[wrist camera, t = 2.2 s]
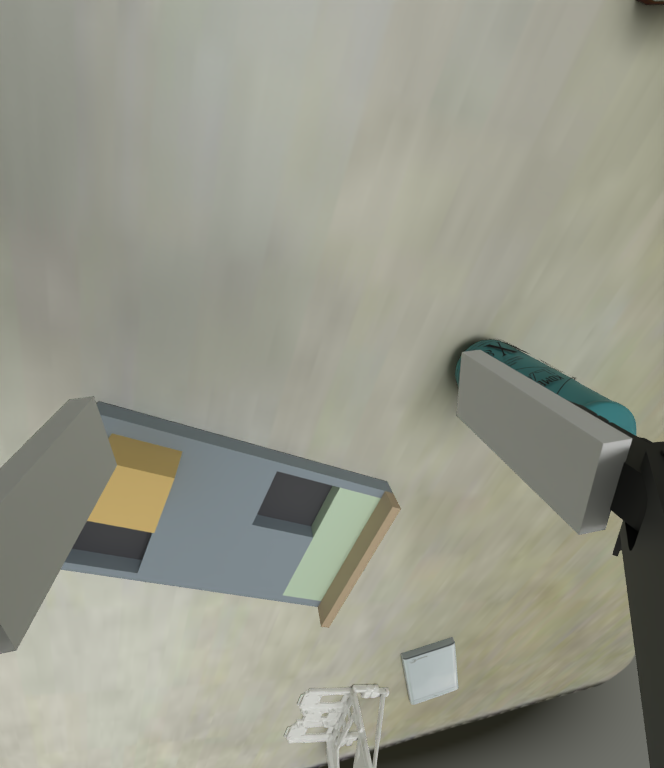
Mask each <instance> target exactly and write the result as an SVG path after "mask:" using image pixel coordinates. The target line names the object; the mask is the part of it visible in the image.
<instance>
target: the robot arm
mask: <svg viewBox="0 0 664 768" xmlns="http://www.w3.org/2000/svg"><path fill="white" fill-rule="evenodd" d="M457 416H458V417H459V418H460V419H461V420H462V421H463V422H464V423H465V424H466V425H467V426H468V427H469V428H470V429H471V430H472V431H473V432H474V433H475V434H476V435H477V436H478V437H479V438H480V439H481V440H482V441H483V442H484V443H485V444H486V445H487V446H488V447H489V448H490V449H491V450H492V451H493V452H495V453H496V454H497V455H498V456H499V457H500V458H501V459H502V460H503V461H504V462H505V463H506V464H507V465H508V466H509V467H510V468H511V469H512V470H513V471H514V472H515V473H516V474H517V475H518V476H519V477H520V478H521V479H522V480H523V481H524V482H525V483H526V484H527V485H528V486H529V487H530V488H531V489H532V490H534V491H535V492H536V493H537V494H538V495H539V496H540V497H541V498H542V499H543V500H544V501H545V502H546V503H547V504H548V505H549V506H550V507H551V508H552V509H553V510H554V511H555V512H556V513H557V514H558V515H559V516H560V517H561V518H562V519H563V520H564V521H565V522H566V523H567V524H568V525H569V526H570V527H571V528H573V529H574V530H575V531H576V532H577V533H578V534H579V535H581V534H586V533H590V532H595V531H600V530H605V528H606V525H607V522H608V518H609V515H610V512H611V510H612V511H613V512H614V513H615V514H616V515H618V516H619V517H620V518H621V519H623V522H622V526H621V529H620V532H619V535H618V538H617V541H616V544H615V547H614V551H613V555H615V556H618V554H619V551H620V550H622V554H623V562H624V570H625V577H626V585H627V593H628V600H629V608H630V616H631V624H632V631H633V639H634V647H635V655H636V661H637V669H638V676H639V685H640V693H641V701H642V709H643V716H644V723H645V732H646V739H647V747H648V754H649V762H650V768H664V442H654V443H651V444H649V443H647V442H646V441H644V440H642V439H641V438H639V437H637V436H635V435H634V434H632V433H630V432H628V431H627V430H625V429H623V428H621V427H620V426H618V425H616V424H614V423H613V422H609V420H607V419H606V418H604V417H602V416H600V415H599V416H598V415H597V413H595V412H593V411H592V410H590V409H588V408H586V407H585V406H583V405H580V404H577V403H574V402H571V401H568V400H566V399H564V398H562V397H560V396H559V395H557V394H555V393H554V392H552V391H550V390H548V389H547V388H545V387H543V386H542V385H540V384H538V383H536V382H535V381H533V380H531V379H530V378H528V377H526V376H524V375H523V374H521V373H519V372H518V371H516V370H514V369H512V368H511V367H509V366H507V365H506V364H504V363H502V362H500V361H499V360H497V359H495V358H494V357H492V356H490V355H489V354H487V353H485V352H483V351H482V350H474V351H466V352H462V355H461V367H460V379H459V391H458V403H457ZM116 466H117V463H116V460H115V457H114V454H113V451H112V448H111V445H110V443H109V440H108V437H107V434H106V431H105V428H104V425H103V422H102V419H101V416H100V413H99V410H98V407H97V404H96V401H95V398H94V397H86V398H78V399H70V400H68V401H67V402H66V403H65V404H64V405H63V406H62V407H61V408H60V409H59V410H58V411H57V412H56V413H55V414H54V415H53V416H52V417H51V418H50V419H49V420H48V421H47V422H46V423H45V424H44V425H43V426H42V427H41V428H40V429H39V430H38V431H37V432H36V433H35V434H34V435H33V436H32V437H31V438H30V439H29V440H28V441H27V442H26V443H25V444H24V445H23V446H22V447H21V448H20V449H19V450H18V451H17V452H16V453H15V454H14V455H13V456H12V457H11V458H10V459H9V460H8V461H7V462H6V463H5V464H4V465H3V466H2V467H1V468H0V654H1V653H6V652H11V651H16V650H17V648H18V646H19V645H20V643H21V641H22V639H23V637H24V635H25V634H26V632H27V630H28V628H29V626H30V624H31V623H32V621H33V619H34V617H35V615H36V613H37V612H38V610H39V608H40V606H41V604H42V602H43V601H44V599H45V597H46V595H47V593H48V591H49V589H50V588H51V586H52V584H53V582H54V580H55V578H56V577H57V575H58V573H59V571H60V569H61V567H62V566H63V564H64V562H65V560H66V558H67V556H68V555H69V553H70V551H71V549H72V547H73V545H74V544H75V542H76V540H77V538H78V536H79V534H80V533H81V531H82V529H83V527H84V525H85V523H86V522H87V520H88V518H89V516H90V514H91V512H92V510H93V509H94V507H95V505H96V503H97V501H98V499H99V498H100V496H101V494H102V492H103V490H104V488H105V487H106V485H107V483H108V481H109V479H110V477H111V476H112V474H113V472H114V470H115V468H116Z"/></svg>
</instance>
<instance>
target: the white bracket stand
mask: <svg viewBox="0 0 664 768" xmlns="http://www.w3.org/2000/svg"><path fill="white" fill-rule="evenodd" d="M358 692H360V693H361V697H363V698H369V697H371V698H376V697H380V705H379V712H378V720H377V728H376V736H375V740H376V742H375V750H374V758H373V766H372V762H371V757H370V752H369V747H368V744H367V743H368V742H367V740H366V733H365V730H364V729H365V728H364V725H363V721H362V720H363V719H362V715H361V712H360V711H361V710H360V706H359V702H358V698H357V693H358ZM334 694H339V695H343V697H342V699H341V701H338V702H319V701H320V699H321V697H322V696H325V695H334ZM388 695H389V689H388V687H383V688H379V687H378V684H364V685H353V686H352V687H344V688H310V689H309V690H308V691H305V693H304V694H301V696H300V698H299V701H300V699H301V697H302V696H303V698H302V700H301V703H300V704H299V701H298V703H297V705H299V708H301V710H300V712H301V713H302V715H303V718H302V719H297V720H296V722H295V723H294V724H291V727H287V730H288V728H290V729H289V731H288V734H287V735H286V733H287V730H286V732H285V735H286V736H285V735H284V737H286V740H288V743H301V742H303V743H313V742H326V745H327V748H326V754H327V761H328V768H339V749H340V747H341V746H344V745H345V744H346V745H347V746H351V744H352V743H353V741H356V740H358V741H357V747H356V753H355V759H354V766H353V768H376V765H377V756H378V748H379V742H380V737H381V728H382V720H383V711H384V702H385V697H388ZM348 697H349V698H348ZM347 699H348V700H347ZM351 705H352V707H353V713H352V715H351V712H350V707H351ZM322 713H328V714H327V716H321V715H322ZM347 713H348V718H349V721H348V723H347V725H346V722H345V717H346V715H347ZM304 716H305V717H304ZM353 721H354V723H355V725H356V727H357V729H358V731H356V732H348V731H349V729H350V727H351V725H352V723H353ZM320 726H323V727H324V728H328V729H327V731H326V732H324V733H318V734H315V733H306V731H307V728H312V727H320ZM341 726H342V727H343V728H342V729H343V732H340V728H341ZM333 728H334V729H333ZM332 730H333V731H332ZM337 734H338V737H337Z"/></svg>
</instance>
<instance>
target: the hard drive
mask: <svg viewBox="0 0 664 768" xmlns="http://www.w3.org/2000/svg"><path fill="white" fill-rule="evenodd" d="M401 657H402V663H403V668H404V674H405V679H406V685H407V690H408V695H409V700H410V703H411V704H417V703H420V702H423V701H426V700H429V699H432V698H435V697H438V696H441V695H444V694H447V693H449V692H452V691H455V690H457V689H458V677H457V664H456V651H455V641H454V639H453V637H451V638H448V639H445V640H442V641H438V642H435V643H432V644H429V645H426V646H423V647H420V648H417V649H414V650H411V651H407V652H404V653H401Z"/></svg>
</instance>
